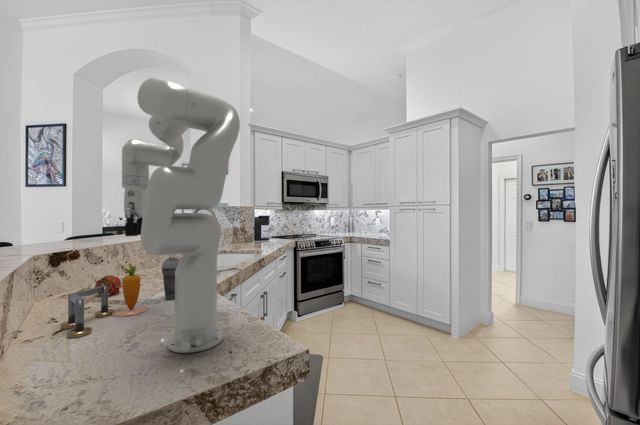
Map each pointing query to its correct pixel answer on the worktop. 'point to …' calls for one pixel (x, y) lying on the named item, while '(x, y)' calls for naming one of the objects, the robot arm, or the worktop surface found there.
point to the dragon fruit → (109, 283)
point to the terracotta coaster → (130, 311)
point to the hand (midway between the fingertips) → (136, 235)
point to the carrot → (131, 287)
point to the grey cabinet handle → (78, 311)
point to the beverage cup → (169, 276)
